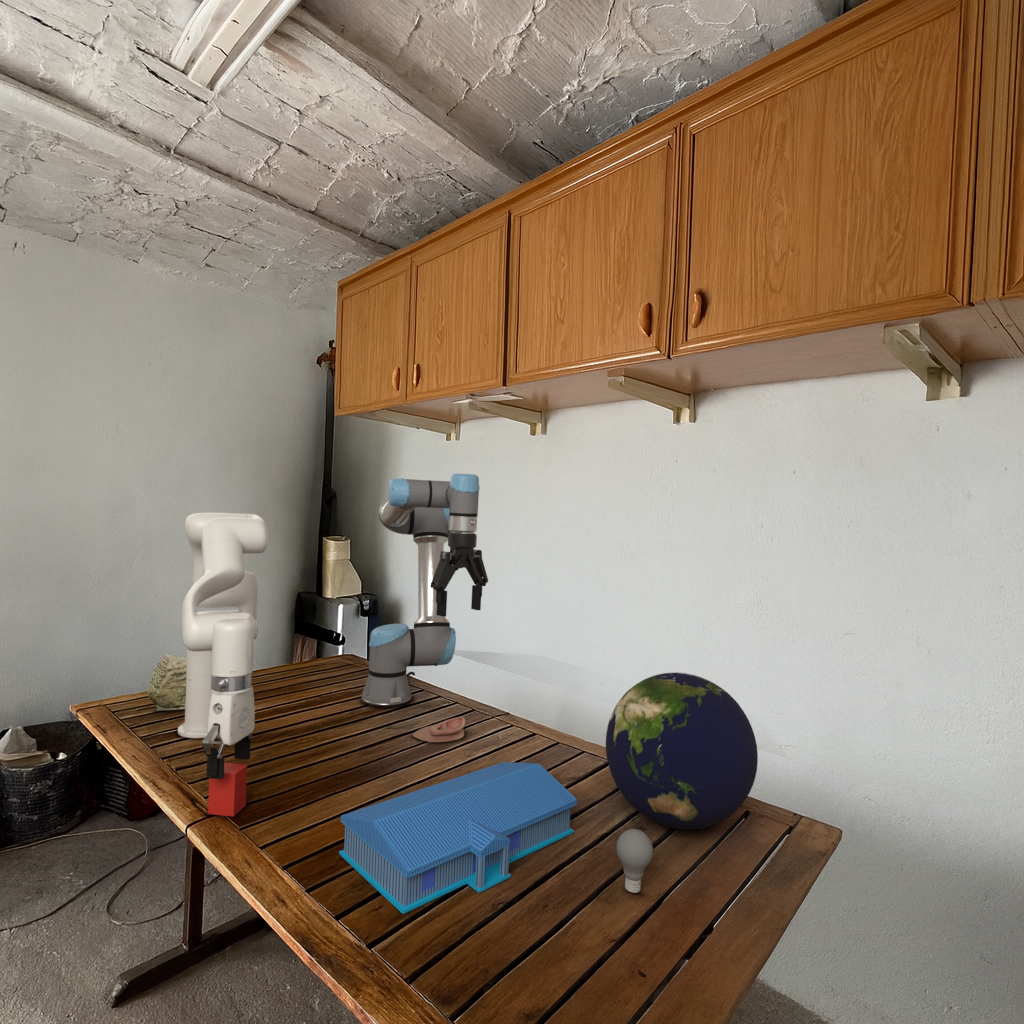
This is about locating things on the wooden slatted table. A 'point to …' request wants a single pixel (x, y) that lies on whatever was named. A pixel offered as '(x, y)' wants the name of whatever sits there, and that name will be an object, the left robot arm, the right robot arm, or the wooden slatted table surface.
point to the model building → (456, 832)
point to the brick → (228, 791)
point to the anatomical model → (442, 731)
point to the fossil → (169, 683)
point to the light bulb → (634, 857)
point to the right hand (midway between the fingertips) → (459, 612)
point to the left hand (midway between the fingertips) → (229, 768)
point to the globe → (681, 751)
